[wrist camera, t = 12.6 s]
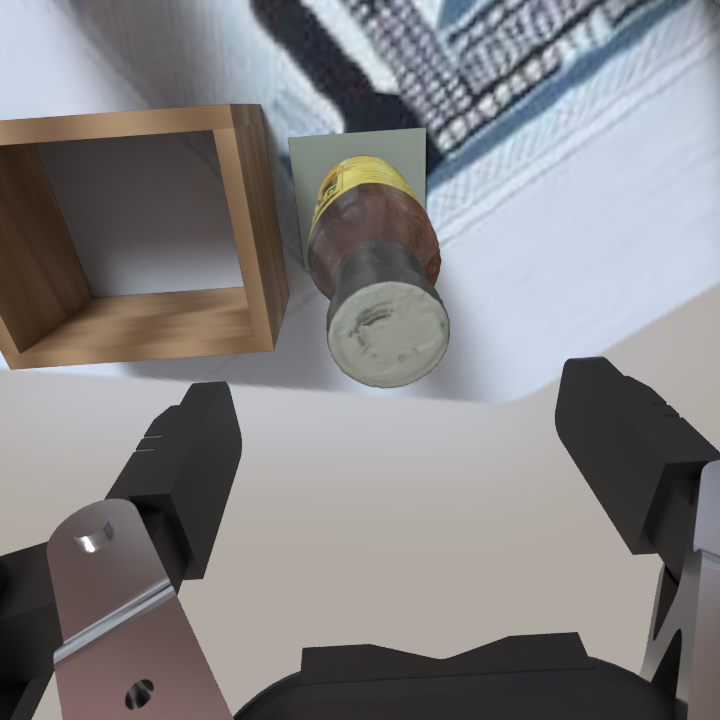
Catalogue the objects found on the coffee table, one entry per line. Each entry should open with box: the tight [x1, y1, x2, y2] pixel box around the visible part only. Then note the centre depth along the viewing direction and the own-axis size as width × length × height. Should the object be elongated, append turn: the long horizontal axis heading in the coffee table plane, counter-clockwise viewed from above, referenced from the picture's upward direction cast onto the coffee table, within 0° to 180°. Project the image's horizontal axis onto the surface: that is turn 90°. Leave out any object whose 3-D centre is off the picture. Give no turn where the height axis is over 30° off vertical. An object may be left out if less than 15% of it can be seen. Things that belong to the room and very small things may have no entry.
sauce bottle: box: [307, 155, 450, 388], centre depth 23 cm, size 7×6×20 cm
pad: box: [288, 128, 426, 271], centre depth 32 cm, size 9×9×1 cm
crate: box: [0, 104, 289, 370], centre depth 28 cm, size 16×13×9 cm
